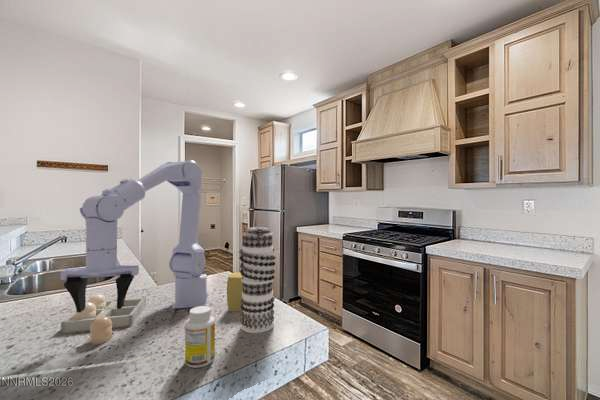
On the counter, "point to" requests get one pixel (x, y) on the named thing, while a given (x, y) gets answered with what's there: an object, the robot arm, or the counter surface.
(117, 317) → the carton
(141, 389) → the counter surface
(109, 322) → the egg
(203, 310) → the supplement bottle
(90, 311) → the pale egg
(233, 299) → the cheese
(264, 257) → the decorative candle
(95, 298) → the pale egg
